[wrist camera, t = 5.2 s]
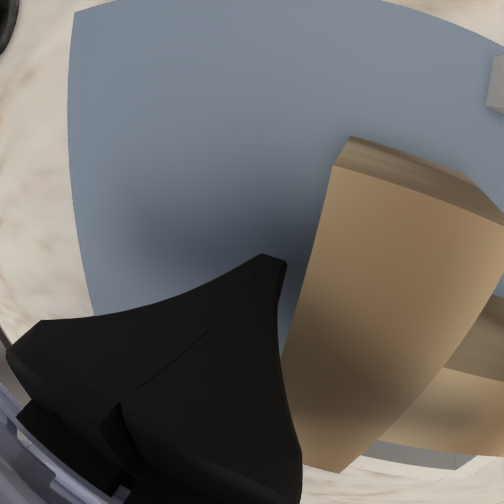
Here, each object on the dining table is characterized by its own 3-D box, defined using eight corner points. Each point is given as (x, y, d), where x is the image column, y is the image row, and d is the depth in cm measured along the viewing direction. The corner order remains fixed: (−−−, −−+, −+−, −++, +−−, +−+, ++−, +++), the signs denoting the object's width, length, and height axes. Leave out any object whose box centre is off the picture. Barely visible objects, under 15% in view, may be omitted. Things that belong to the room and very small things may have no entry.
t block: (283, 371, 13) (250, 446, 10) (350, 135, 8) (332, 165, 5) (477, 421, 11) (478, 490, 7) (601, 250, 5) (653, 317, 2)
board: (461, 449, 13) (461, 457, 12) (104, 326, 18) (99, 331, 18) (645, 168, 3) (652, 173, 3) (84, 13, 9) (74, 12, 8)
